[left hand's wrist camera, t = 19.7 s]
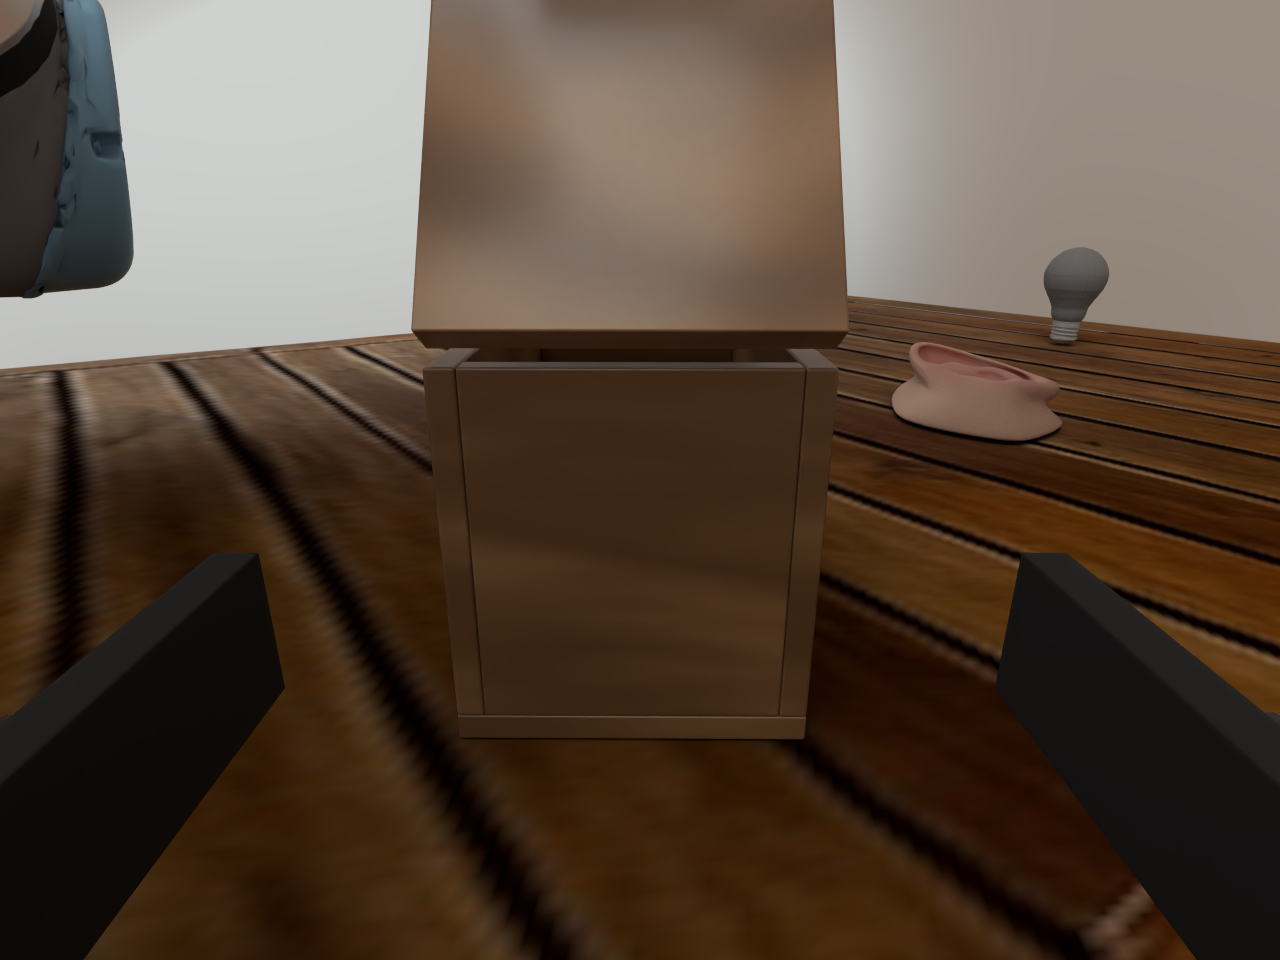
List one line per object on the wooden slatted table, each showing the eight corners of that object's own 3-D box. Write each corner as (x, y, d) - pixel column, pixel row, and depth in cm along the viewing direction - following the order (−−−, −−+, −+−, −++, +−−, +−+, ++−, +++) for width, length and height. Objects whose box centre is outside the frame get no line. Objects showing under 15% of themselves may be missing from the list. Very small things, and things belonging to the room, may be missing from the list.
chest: (535, 521, 35) (523, 295, 32) (739, 522, 35) (750, 295, 31) (459, 738, 21) (421, 367, 17) (804, 740, 21) (839, 368, 17)
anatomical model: (1080, 385, 44) (880, 368, 48) (1067, 449, 45) (873, 426, 50) (1066, 349, 55) (905, 338, 60) (1055, 401, 56) (899, 386, 61)
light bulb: (1042, 346, 79) (1061, 248, 75) (1024, 337, 84) (1041, 245, 81) (1103, 348, 78) (1125, 249, 74) (1080, 338, 83) (1100, 246, 80)
